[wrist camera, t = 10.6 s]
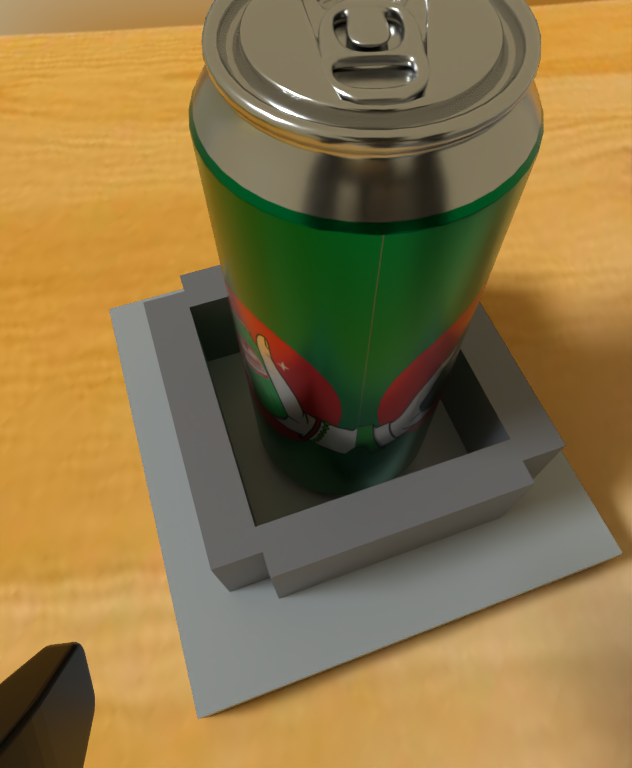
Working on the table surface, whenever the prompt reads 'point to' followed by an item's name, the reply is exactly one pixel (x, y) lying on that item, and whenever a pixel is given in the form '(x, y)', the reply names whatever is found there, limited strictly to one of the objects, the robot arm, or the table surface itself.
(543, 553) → the socket
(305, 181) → the soda can
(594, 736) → the table surface
